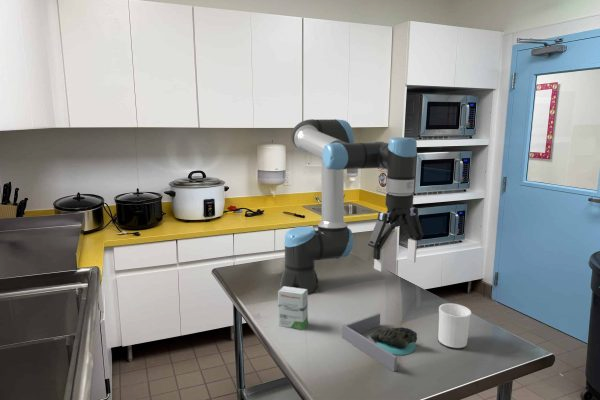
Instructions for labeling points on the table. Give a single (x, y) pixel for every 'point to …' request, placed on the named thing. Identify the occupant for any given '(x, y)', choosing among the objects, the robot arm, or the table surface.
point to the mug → (453, 325)
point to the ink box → (293, 307)
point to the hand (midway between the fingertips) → (395, 265)
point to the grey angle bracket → (378, 353)
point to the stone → (395, 336)
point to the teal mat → (395, 350)
